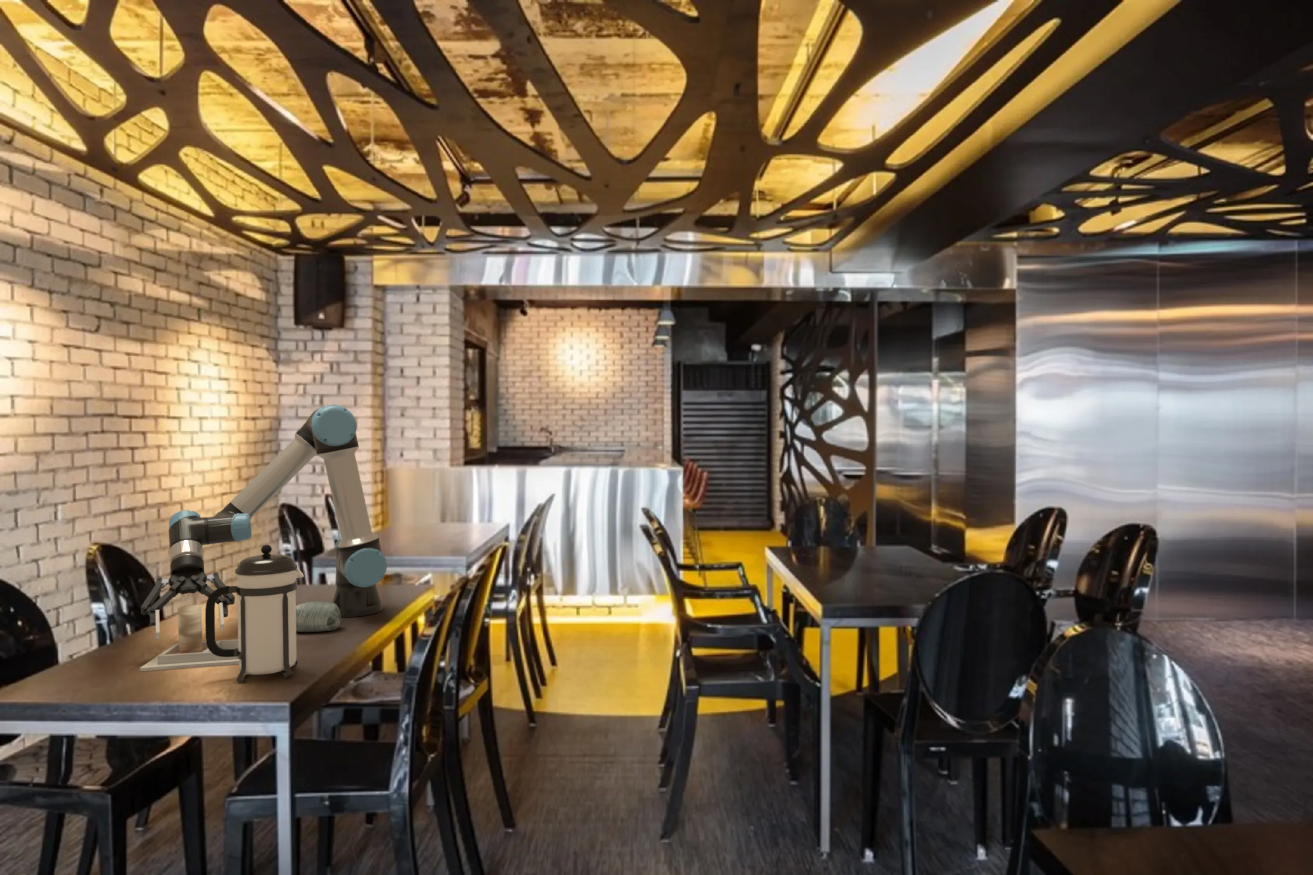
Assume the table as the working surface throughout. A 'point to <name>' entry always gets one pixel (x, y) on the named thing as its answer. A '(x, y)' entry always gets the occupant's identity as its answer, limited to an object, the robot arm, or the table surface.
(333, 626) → the yarn ball
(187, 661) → the white flat tray
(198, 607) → the peg
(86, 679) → the table surface
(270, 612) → the coffee press
